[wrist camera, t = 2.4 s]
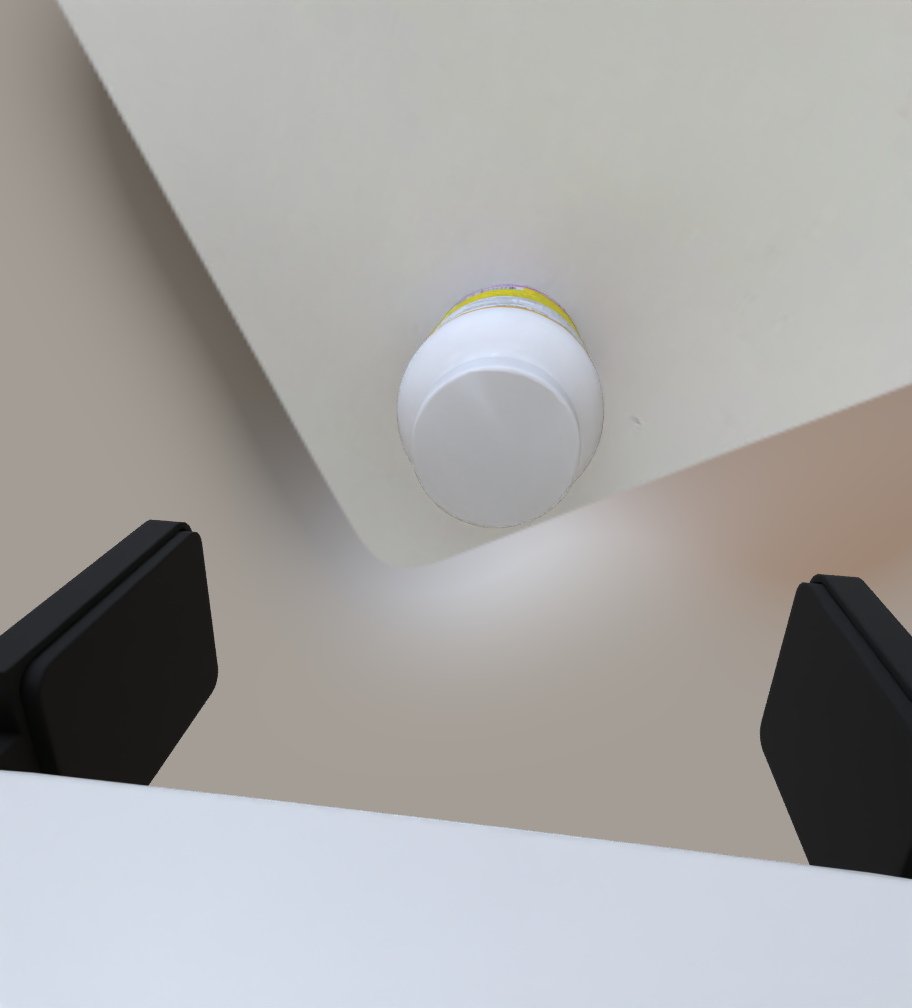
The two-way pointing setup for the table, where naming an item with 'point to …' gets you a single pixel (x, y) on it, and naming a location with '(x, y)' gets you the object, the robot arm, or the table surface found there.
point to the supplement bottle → (500, 407)
